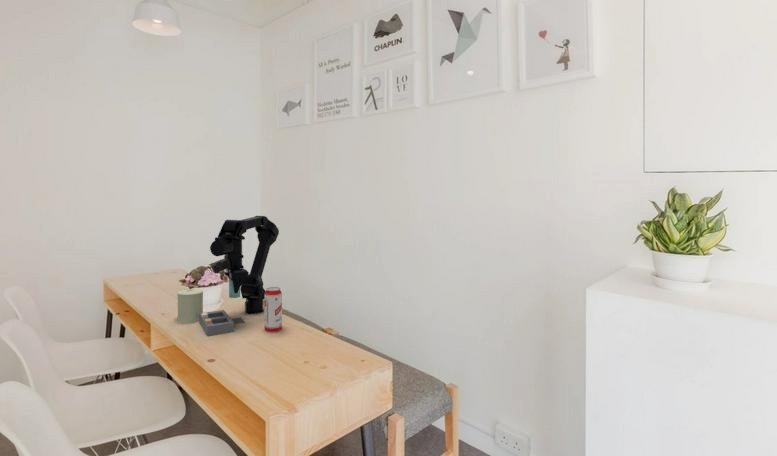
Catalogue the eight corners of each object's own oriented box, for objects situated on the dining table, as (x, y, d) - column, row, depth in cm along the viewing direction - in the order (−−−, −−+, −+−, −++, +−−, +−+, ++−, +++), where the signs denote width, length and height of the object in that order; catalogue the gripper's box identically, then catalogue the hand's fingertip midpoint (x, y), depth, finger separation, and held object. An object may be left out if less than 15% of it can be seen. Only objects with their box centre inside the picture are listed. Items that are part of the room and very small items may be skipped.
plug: (238, 294, 160) (238, 275, 159) (241, 297, 156) (241, 277, 156) (228, 296, 158) (227, 276, 157) (230, 298, 154) (230, 278, 153)
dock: (223, 319, 161) (223, 307, 161) (234, 333, 147) (234, 319, 147) (199, 323, 156) (199, 310, 156) (207, 337, 142) (207, 323, 142)
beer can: (284, 328, 153) (284, 287, 152) (278, 334, 147) (278, 291, 146) (268, 327, 154) (268, 286, 152) (261, 333, 148) (261, 290, 146)
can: (201, 315, 165) (201, 286, 164) (205, 321, 158) (205, 291, 157) (176, 318, 160) (175, 289, 159) (178, 325, 153) (178, 294, 152)
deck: (240, 318, 163) (240, 317, 163) (245, 323, 157) (245, 322, 157) (226, 320, 160) (226, 319, 160) (230, 326, 154) (230, 324, 154)
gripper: (207, 250, 158) (207, 288, 160) (216, 257, 143) (217, 300, 145) (236, 248, 165) (236, 285, 166) (248, 255, 149) (249, 296, 151)
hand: (234, 291), depth 157 cm, fingers closed on plug, 4 cm apart
